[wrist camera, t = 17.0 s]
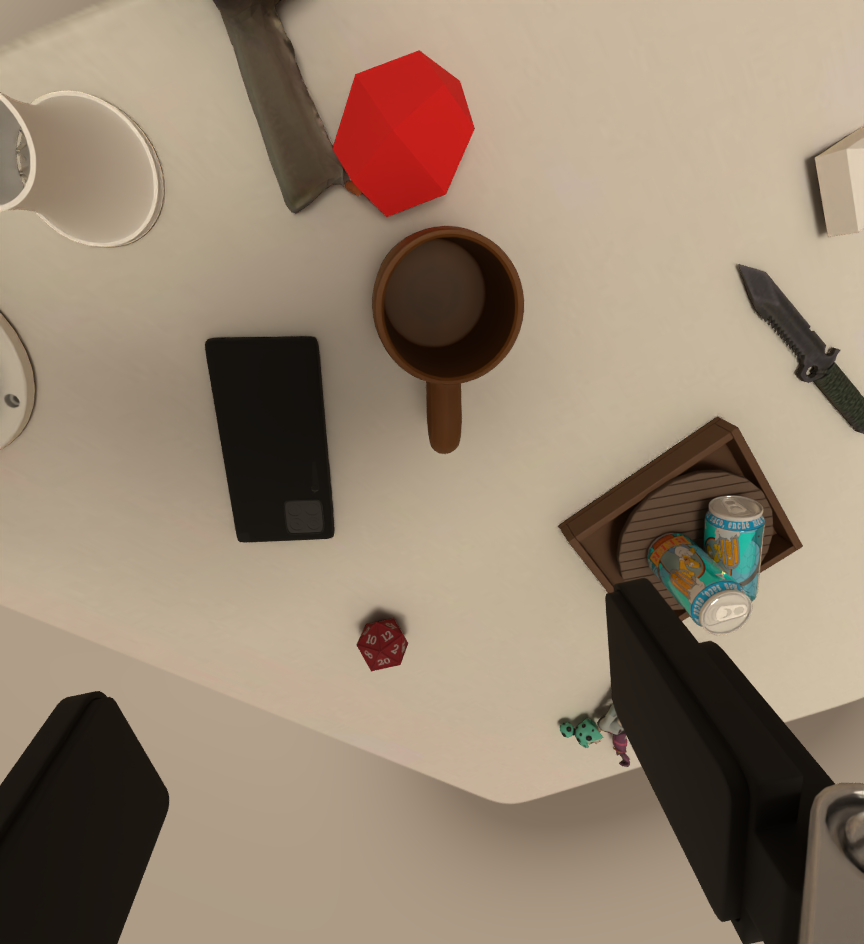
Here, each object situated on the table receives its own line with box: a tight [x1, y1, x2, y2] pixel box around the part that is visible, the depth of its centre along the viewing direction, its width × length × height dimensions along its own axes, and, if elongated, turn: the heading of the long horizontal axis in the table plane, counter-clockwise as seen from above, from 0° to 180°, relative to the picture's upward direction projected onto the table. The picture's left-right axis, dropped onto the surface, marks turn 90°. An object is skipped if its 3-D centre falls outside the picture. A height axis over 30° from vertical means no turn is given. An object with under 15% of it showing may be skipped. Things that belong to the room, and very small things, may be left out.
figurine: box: [560, 704, 630, 767], centre depth 48 cm, size 7×15×4 cm, turn 138°
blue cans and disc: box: [616, 470, 773, 635], centre depth 37 cm, size 12×12×8 cm
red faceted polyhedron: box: [333, 51, 475, 217], centre depth 29 cm, size 7×7×8 cm
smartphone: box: [205, 336, 334, 542], centre depth 37 cm, size 7×1×15 cm
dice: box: [357, 618, 408, 671], centre depth 43 cm, size 4×4×4 cm
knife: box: [738, 264, 864, 434], centre depth 38 cm, size 18×1×3 cm
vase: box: [0, 91, 164, 247], centre depth 26 cm, size 8×8×10 cm
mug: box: [372, 226, 524, 454], centre depth 31 cm, size 12×8×9 cm, turn 0°
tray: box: [559, 417, 803, 621], centre depth 42 cm, size 14×13×2 cm
